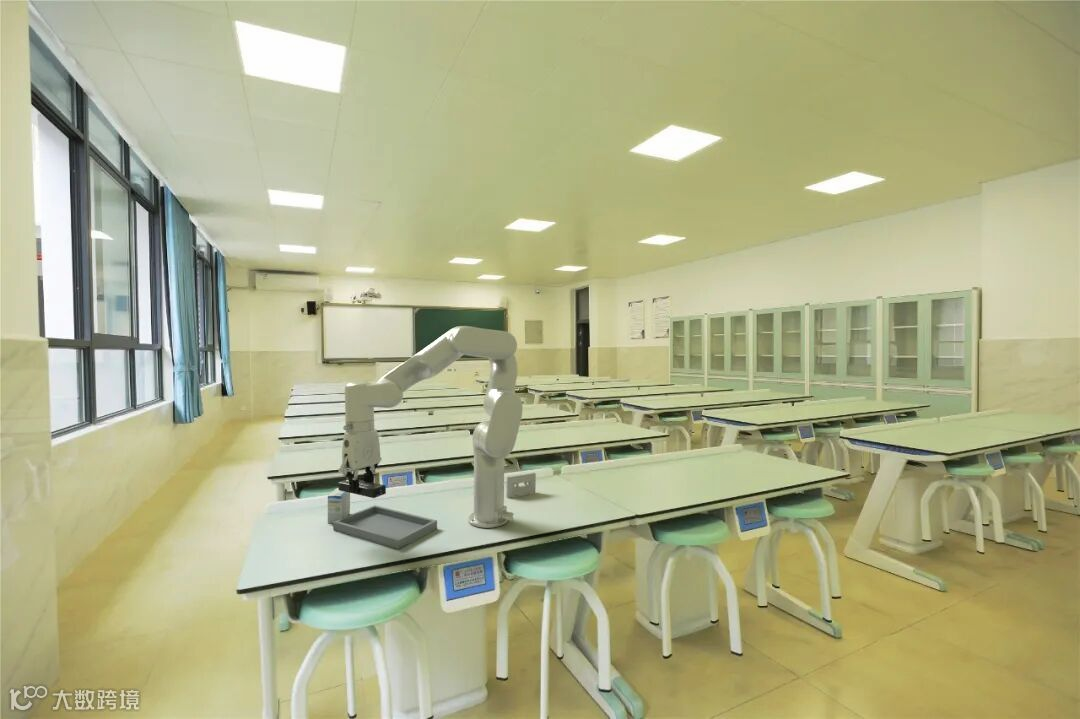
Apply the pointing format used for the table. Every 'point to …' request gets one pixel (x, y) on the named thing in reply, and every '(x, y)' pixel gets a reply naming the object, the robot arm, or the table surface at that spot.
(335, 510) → the medicine box
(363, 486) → the multiport hub
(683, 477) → the table surface
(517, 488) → the cassette
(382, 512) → the tray
